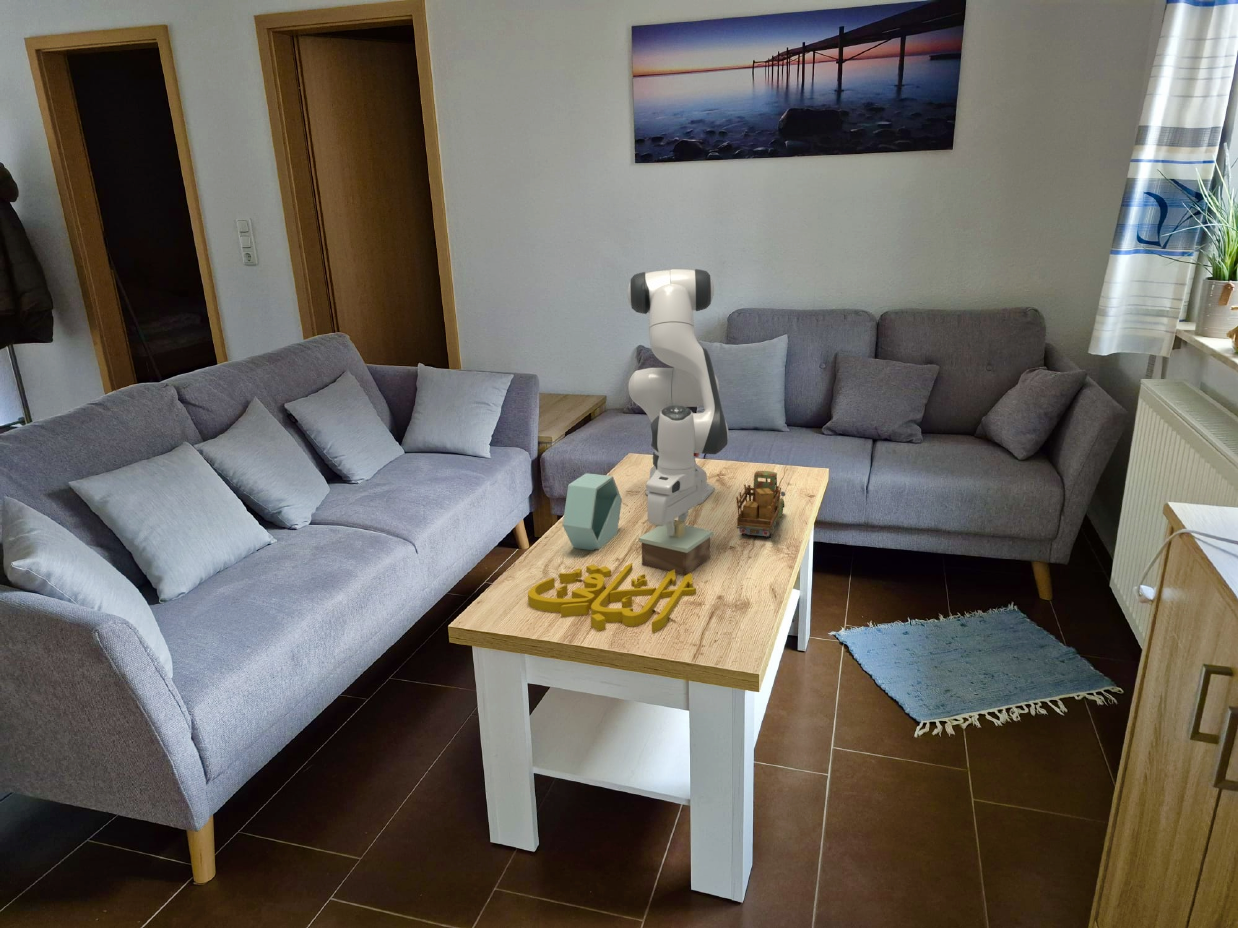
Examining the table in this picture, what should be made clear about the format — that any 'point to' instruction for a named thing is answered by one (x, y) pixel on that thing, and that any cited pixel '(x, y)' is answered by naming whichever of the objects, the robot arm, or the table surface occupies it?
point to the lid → (677, 537)
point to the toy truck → (760, 506)
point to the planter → (592, 511)
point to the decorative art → (610, 597)
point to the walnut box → (675, 557)
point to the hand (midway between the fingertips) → (676, 531)
